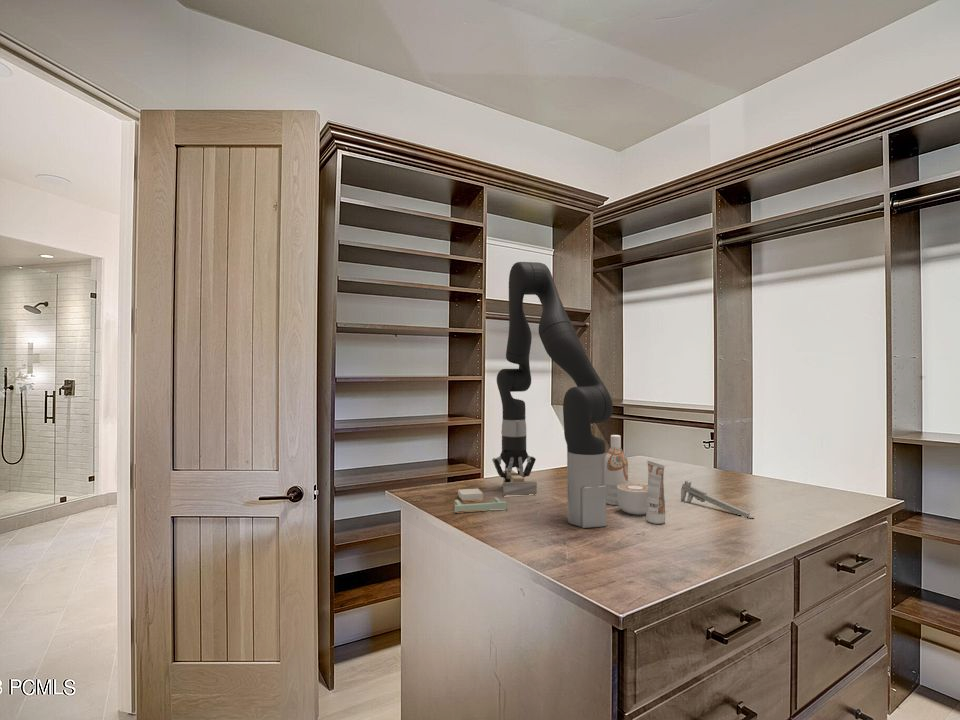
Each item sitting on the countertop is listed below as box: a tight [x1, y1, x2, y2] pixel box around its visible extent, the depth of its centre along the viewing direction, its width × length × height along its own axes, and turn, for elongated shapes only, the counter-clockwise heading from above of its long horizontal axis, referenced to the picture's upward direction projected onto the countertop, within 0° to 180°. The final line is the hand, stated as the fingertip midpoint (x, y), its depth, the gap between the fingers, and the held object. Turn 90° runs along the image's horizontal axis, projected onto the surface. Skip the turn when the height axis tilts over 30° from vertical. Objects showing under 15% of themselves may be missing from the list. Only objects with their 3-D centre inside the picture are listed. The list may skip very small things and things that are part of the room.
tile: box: [457, 487, 484, 500], centre depth 149 cm, size 6×6×2 cm
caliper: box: [680, 480, 755, 519], centre depth 138 cm, size 20×1×6 cm, turn 33°
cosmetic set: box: [605, 434, 666, 525], centre depth 136 cm, size 25×9×19 cm, turn 16°
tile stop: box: [454, 496, 508, 513], centre depth 139 cm, size 6×14×2 cm, turn 103°
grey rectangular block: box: [502, 469, 538, 496], centre depth 159 cm, size 13×10×5 cm
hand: (514, 490), depth 159 cm, fingers closed on grey rectangular block, 3 cm apart
